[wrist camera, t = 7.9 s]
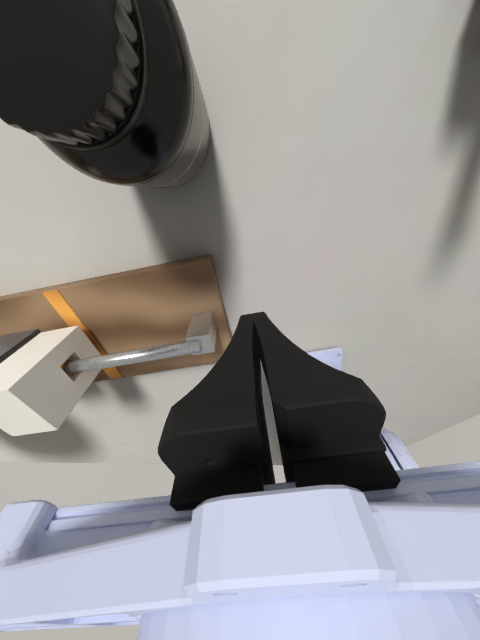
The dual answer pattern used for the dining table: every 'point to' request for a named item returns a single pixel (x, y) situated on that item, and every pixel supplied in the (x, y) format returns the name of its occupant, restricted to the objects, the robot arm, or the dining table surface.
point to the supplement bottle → (105, 87)
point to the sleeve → (43, 381)
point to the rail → (155, 348)
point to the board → (127, 312)
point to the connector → (15, 342)
